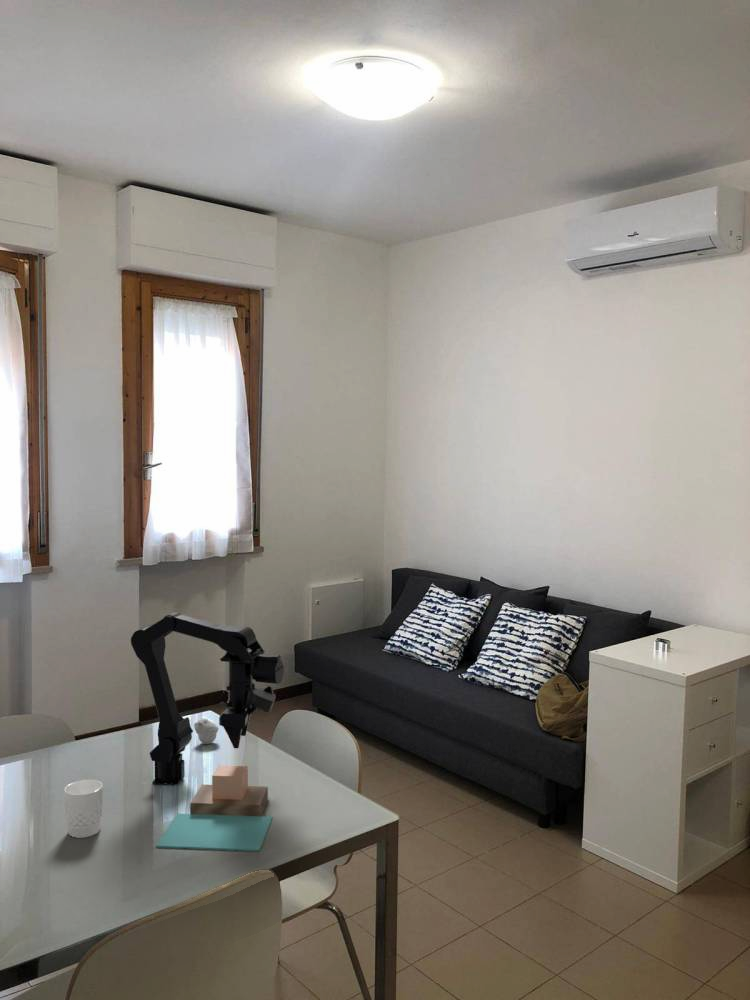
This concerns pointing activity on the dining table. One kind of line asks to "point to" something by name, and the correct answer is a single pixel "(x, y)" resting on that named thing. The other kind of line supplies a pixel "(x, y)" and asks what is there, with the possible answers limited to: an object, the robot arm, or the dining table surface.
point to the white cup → (84, 807)
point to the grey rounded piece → (206, 730)
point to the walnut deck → (229, 802)
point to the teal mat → (216, 832)
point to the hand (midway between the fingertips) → (239, 741)
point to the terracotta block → (230, 782)
